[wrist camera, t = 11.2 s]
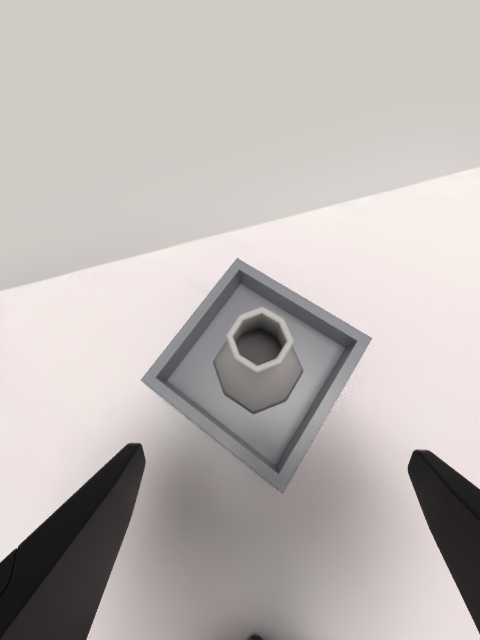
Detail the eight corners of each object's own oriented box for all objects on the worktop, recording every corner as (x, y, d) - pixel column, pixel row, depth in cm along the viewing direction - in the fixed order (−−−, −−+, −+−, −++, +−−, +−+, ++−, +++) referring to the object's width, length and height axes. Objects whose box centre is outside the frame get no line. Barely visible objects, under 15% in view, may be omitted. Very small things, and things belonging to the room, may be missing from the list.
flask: (318, 372, 22) (367, 347, 12) (251, 431, 21) (249, 453, 11) (262, 310, 24) (267, 247, 14) (198, 360, 23) (158, 328, 13)
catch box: (278, 479, 20) (282, 493, 17) (157, 383, 23) (140, 380, 20) (355, 347, 23) (372, 338, 20) (239, 276, 26) (237, 258, 23)
